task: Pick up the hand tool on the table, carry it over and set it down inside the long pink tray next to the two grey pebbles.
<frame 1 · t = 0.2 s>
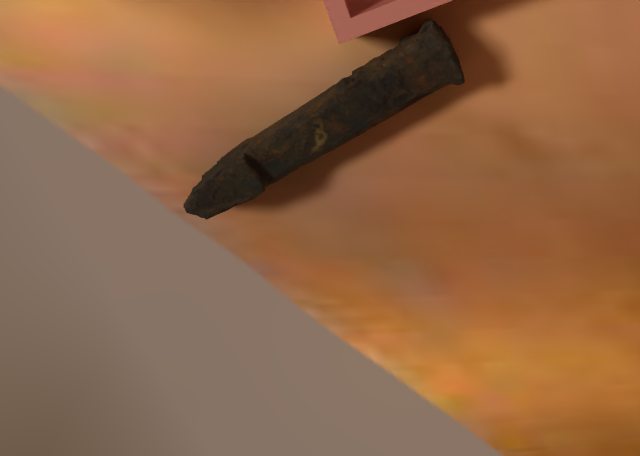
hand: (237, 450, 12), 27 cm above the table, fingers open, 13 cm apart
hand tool: (316, 127, 38), on the table
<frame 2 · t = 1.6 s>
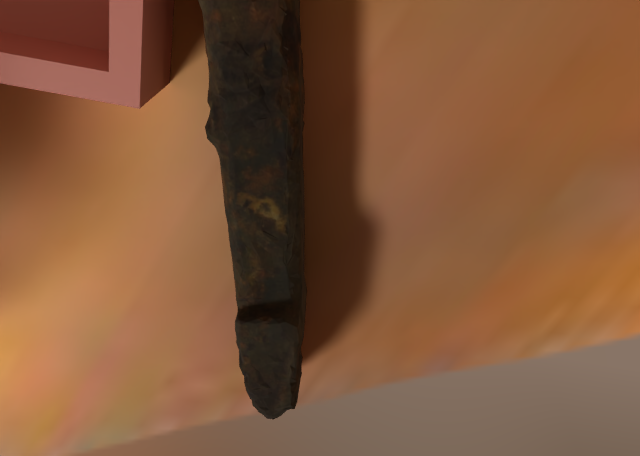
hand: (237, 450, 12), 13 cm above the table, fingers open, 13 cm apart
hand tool: (286, 186, 25), on the table
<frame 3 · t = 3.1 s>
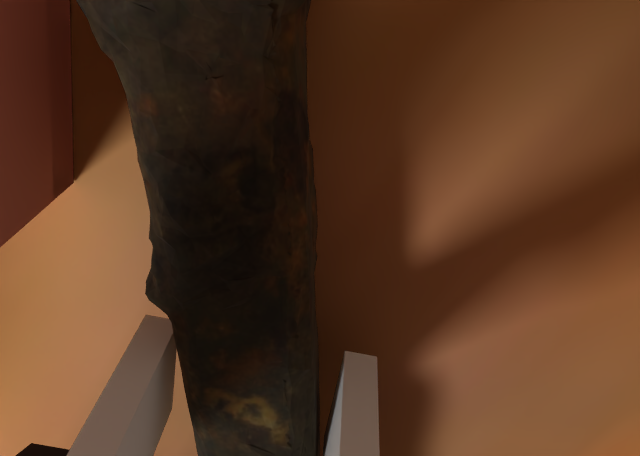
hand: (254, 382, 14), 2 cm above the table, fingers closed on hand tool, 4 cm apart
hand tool: (291, 331, 16), on the table, touching gripper
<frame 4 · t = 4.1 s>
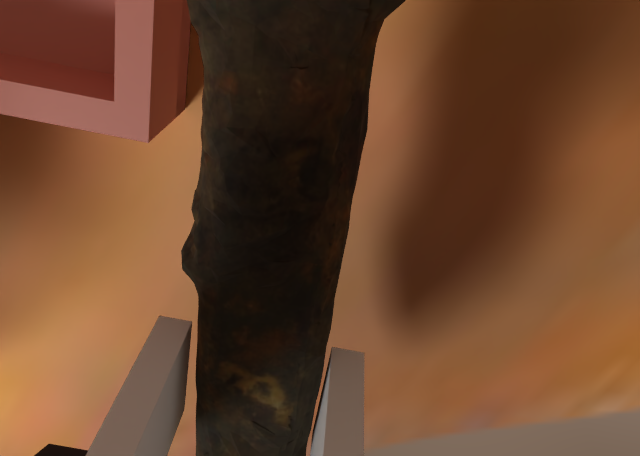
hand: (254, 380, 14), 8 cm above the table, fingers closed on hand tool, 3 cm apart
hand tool: (292, 319, 16), point 6 cm above the table, touching gripper
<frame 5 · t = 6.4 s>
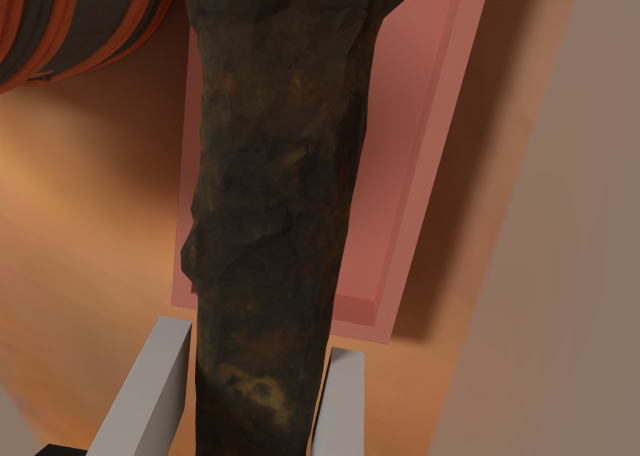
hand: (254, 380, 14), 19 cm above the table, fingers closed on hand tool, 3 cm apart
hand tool: (292, 320, 16), point 17 cm above the table, touching gripper
pink tray: (325, 74, 30), on the table
when the fingers open (5 cm above the table, at t = 9.0 s): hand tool stays where it is, resting on pink tray.
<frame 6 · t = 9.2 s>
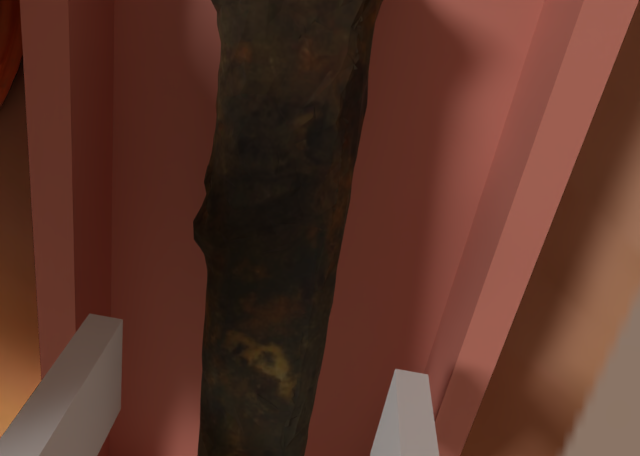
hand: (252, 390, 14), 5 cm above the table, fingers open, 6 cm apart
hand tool: (293, 313, 17), point 2 cm above the table, touching pink tray
pink tray: (295, 183, 17), on the table
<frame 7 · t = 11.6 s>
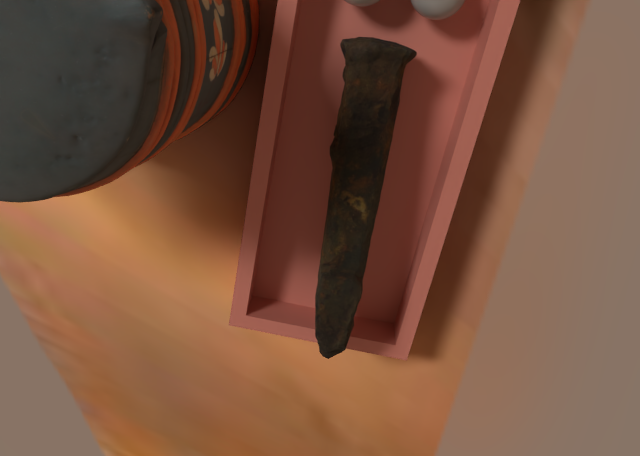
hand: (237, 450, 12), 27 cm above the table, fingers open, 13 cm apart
beer stein: (102, 20, 35), on the table
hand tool: (360, 200, 37), point 2 cm above the table, touching pink tray
pink tray: (360, 141, 37), on the table
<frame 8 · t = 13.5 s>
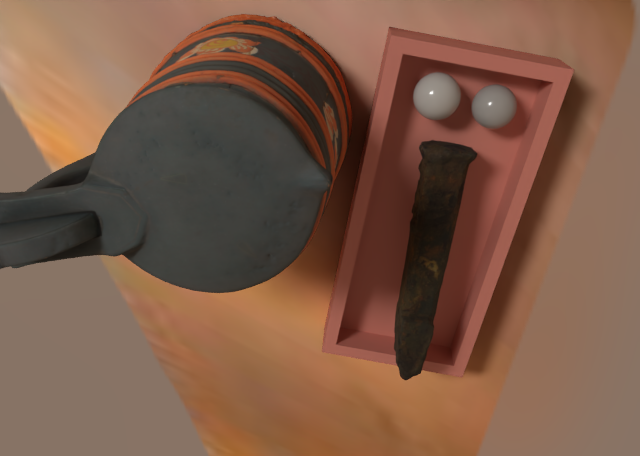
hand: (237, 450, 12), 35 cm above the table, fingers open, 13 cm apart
beer stein: (227, 122, 46), on the table
pebble a: (434, 90, 42), point 1 cm above the table, touching pink tray
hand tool: (427, 256, 47), point 2 cm above the table, touching pink tray
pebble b: (490, 101, 42), point 1 cm above the table, touching pink tray
pink tray: (427, 209, 47), on the table
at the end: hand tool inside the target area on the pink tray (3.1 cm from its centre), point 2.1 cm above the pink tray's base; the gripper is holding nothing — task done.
